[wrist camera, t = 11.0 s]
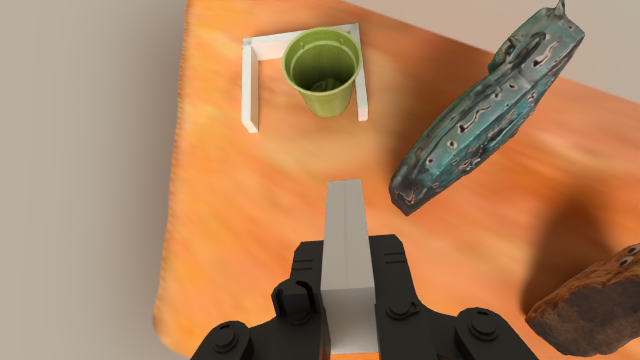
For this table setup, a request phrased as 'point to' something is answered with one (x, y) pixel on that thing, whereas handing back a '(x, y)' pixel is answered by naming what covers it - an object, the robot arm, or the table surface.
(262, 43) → the white u-shaped frame
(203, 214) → the table surface
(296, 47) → the plant pot
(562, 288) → the decorative rock
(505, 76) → the ceramic cat
